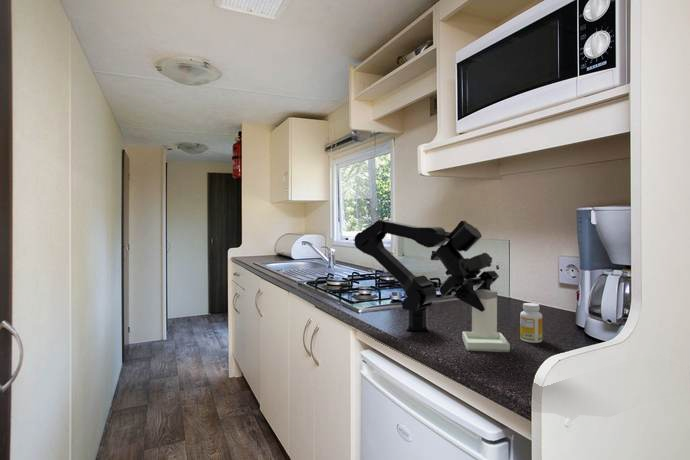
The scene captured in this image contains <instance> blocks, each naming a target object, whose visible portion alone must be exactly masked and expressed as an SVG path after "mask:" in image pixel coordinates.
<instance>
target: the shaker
mask: <svg viewBox="0 0 690 460" xmlns="http://www.w3.org/2000/svg"><path fill="white" fill-rule="evenodd" d="M474 292H475V293H476V295H477V296H478V298H479V300H480V301H481V303H482V304H483V306H484V308H485V310H484V311H483V312H481V311H479V310H478V309H476V308H474V307H473V306H471V332H472V333H474V334H477V335H481V336H485V337H488V336H492V335H495V334H497V333H498V291H496V290H491V291H490V290H484V289H481V290H475V289H474Z"/></svg>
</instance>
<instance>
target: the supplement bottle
mask: <svg viewBox="0 0 690 460" xmlns="http://www.w3.org/2000/svg"><path fill="white" fill-rule="evenodd" d="M522 309H523V311H521V312H520V314H519V315H520V316H519V318H520V319H519V320H520V321H519V322H520V325H519V326H520V333H519V334H520V336H519V337H520V340H521V341H523V342H525V343H532V344H538V343H542V341H543V314H542V313H541V312H540V304H539V303H536V302H535V303H534V302H524V303H522Z"/></svg>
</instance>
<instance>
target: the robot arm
mask: <svg viewBox="0 0 690 460" xmlns="http://www.w3.org/2000/svg"><path fill="white" fill-rule="evenodd" d="M387 235H391V236H392V235H393V236H397V237H401V238H406V239H411V240H413V241H414V242H416V243H417V244H419V245H421V246H423V247H425V248H437V247H438V248H437V249H436V250H431V255H430V260H431V261H440V262H441V264H442V265H443V267H444V268H445V270H446V271H445V275H446V276H448V277H447V278H446V279H445V281H443V282H442V284H441V285H440V286H439V292H440V294H441V295H442V297H443V298H448V297H451V296H452V293H453V292H452V290H454V292H455V293H454V295H453V296H452V297H453V298H454V299H455V298H456V299H457V300H460V301H461V302H464V303H465V304H467V305H469V306H470V307H472V306H473V307H474V308H476V309H478V310H479V311H481V312H483V311H484V310H485V308H484V306H483V304H482V303H481V301H480V300H479V298H478V296H477V295H476V293H475V292H474V291H475V290H481V289H484V290H490V291H492V290H491V285H493V284H494V283H495V282H496V281H497V279H499V277H500V276H499V274H498V273H497V272H496V271H495V270H483V269H485V268H489V267H492V263H493V257H492V256H490V254H488V253H487V252H482V253H481V254H477V255H475V256H472V257H470V258H469V257H468V258H465V257H464V256H463V254H462V253H461V252H468V251H469V250H470V249H471V248H472V247H473V246H474V245H475V244H477V242H478V241H479V240H481V238H482V233H481V232H480V230H479V229H478V228H477V227H474V226H473V225H472V224H471V223H468V222H467V221H466V220H461V221H460V222H459V223H458V224H457V225H456V226H455V228H454V229H453V230H452V231H450V232H449V231H446V230H445V229H444V228H443V227H441V226H416V225H415V226H414V225H411V224H406V223H401V222H398V221H397V222H396V221H392V220H389V219H378V220H376V221H375V222H374V223H373V224H372V225H369V226H368V227H366V228H364V229H363V230H362V231H361V232H358V233H356V235H355V236H354V240H353V241H354V244H353V245H354V247H355V248H356V249H358V250H359V251H360V252H362V253H363V254H366V255H368V256H370V257H373V258H374V259H375V260H376V261H377V262H378V264H380V265H381V267H383V268H384V269H385V270H386V271H387V272H388V273H389V274H390V275H391V276H392V277H393V278H394V279H395V280H396V281H397V282H398V283H399V284H400V285H401V286H402V287H403V291H404V293H405V294H404V295H405V296H406V297H405V298H404V299H403V300H402V301H401V307H402V309H403V310H405V311H406V310H407V323H406V329H405V330H406V331H408V332H409V331H410V332H412V331H413V332H429V331H430V328H429V324H428V308H429V307H432V305H433V302H434V301H436V299H437V288H436V287H435V286H434V284H435V283H434V282H432V281H430V280H429V279H428V277H427V276H425V275H423V274H422V275H418V276H416V275H415V274H413V273H412V271H410V270H409V269H408V268H407V267H406V266H405V265H404V264H402V262H401V261H400V260H398V259H397V258H396V257H395V256H394V255H393V254H392V253H391V252H390V251H389V250H388V249H387V248H386V247H385V246H384V241H383V240H384V239H385V238H386V236H387ZM481 270H483V272H482V271H481ZM480 273H481V274H480ZM478 275H479V276H478Z"/></svg>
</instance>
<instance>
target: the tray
mask: <svg viewBox="0 0 690 460" xmlns="http://www.w3.org/2000/svg"><path fill="white" fill-rule="evenodd" d="M461 336H462V341H463V344H464V346H465V348H466V351H469V352H490V353H491V352H492V353H493V352H494V353H495V352H496V353H511V347H510V346H511V345H510V342H508V340H507V338H506V337H505V336H504V335H503V334H502V332H497V334H495V335H492V336H488V337H485V336H481V335H477V334H474V333H472V331H462V335H461Z"/></svg>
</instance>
